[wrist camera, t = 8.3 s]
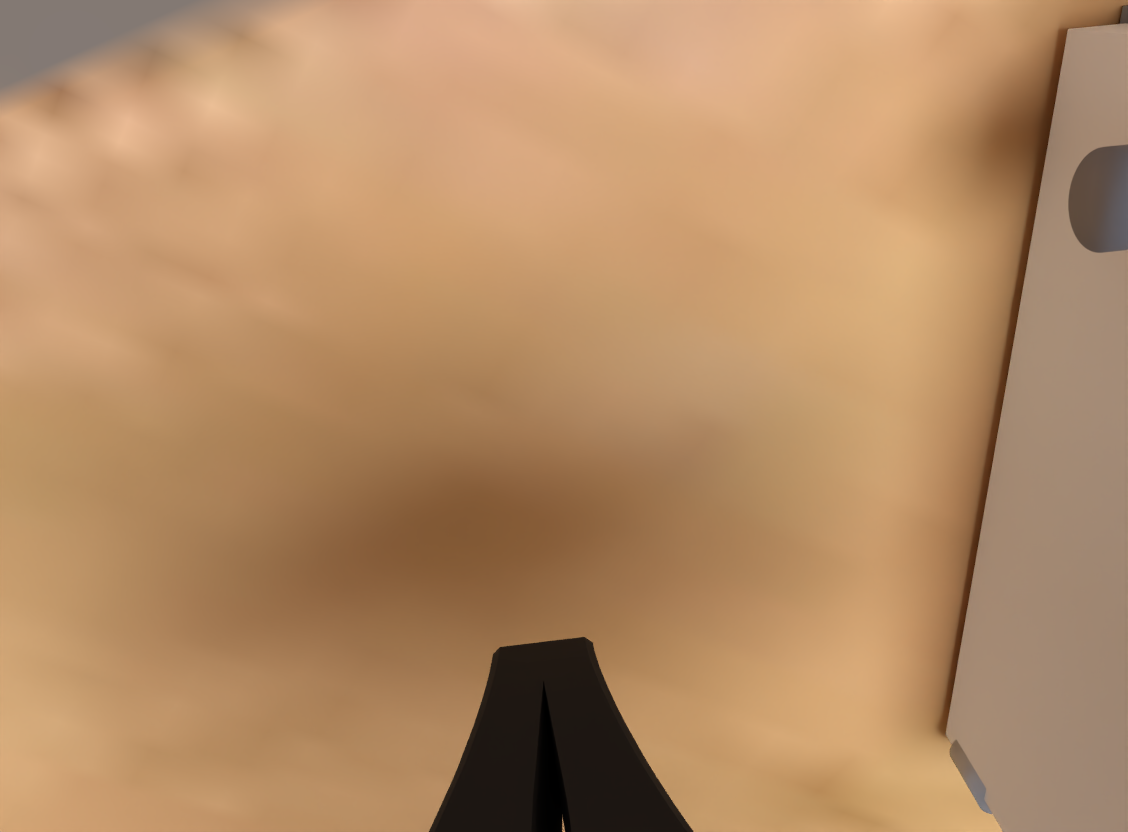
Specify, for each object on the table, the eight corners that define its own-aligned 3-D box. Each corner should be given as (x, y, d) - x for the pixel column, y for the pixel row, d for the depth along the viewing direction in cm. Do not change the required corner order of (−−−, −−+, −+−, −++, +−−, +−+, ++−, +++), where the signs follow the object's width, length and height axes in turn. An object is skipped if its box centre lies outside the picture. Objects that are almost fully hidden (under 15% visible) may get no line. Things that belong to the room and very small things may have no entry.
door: (896, 756, 18) (1046, 1049, 13) (996, 35, 12) (1365, 80, 7) (984, 746, 18) (1166, 1034, 13) (1132, 21, 12) (1599, 57, 7)
